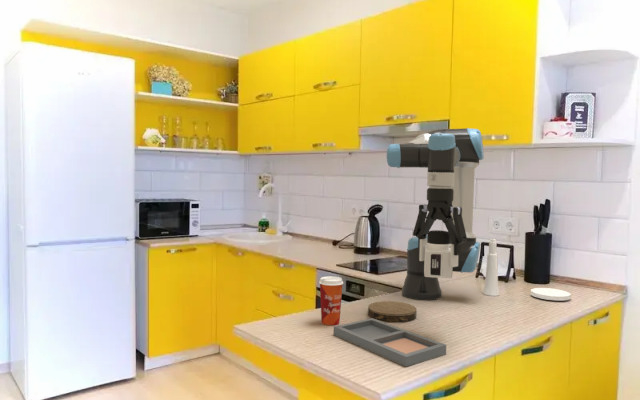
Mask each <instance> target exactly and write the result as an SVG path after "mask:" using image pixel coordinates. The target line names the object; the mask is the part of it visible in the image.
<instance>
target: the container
mask: <svg viewBox="0 0 640 400" xmlns="http://www.w3.org/2000/svg"><path fill="white" fill-rule="evenodd" d="M450 239H451V237H450V235H449V232H448V230H437V229H436V230H434V229H433V230H429V232H428V233H427V245H428V247H425V259H424V276H425V277H436V278H438V279H439V278H440V279H452V278H453V273H454V271H453V267H450V248H449V247H450Z"/></svg>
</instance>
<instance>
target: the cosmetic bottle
mask: <svg viewBox="0 0 640 400" xmlns="http://www.w3.org/2000/svg"><path fill="white" fill-rule="evenodd" d="M497 243H498V242H497V239H495V238H490V239H489V242H488V253H487V257H486V269H485V270H486V271H485V280H484V286H483V292H482V294H483V295H484V296H489V297H497V296H500V291H499V276H498V274H499V272H498V253H497Z"/></svg>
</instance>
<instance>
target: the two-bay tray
mask: <svg viewBox="0 0 640 400" xmlns="http://www.w3.org/2000/svg"><path fill="white" fill-rule="evenodd" d="M333 336H336V337H337V338H340V339H342V340H344V341H346V342H348V343H351V344H354V345H356V346H357V347H360V348H362V349H364V350H367V351H369V352H371V353H373V354H375V355H378V356H380V357H383V358H385V359H387V360H390V361H391V362H394V363H396V364H398V365H401V366H402V367H405V368H408V367H411V366H413V365H417V364H420V363H422V362H426V361H430V360H432V359H437V358H440V357H442V356H445V355H447V344H446V343H442V342H440V341H437V340H434V339H431V338H429V337H427V336H423V335H420V334H417V333H414V332H412V331H409V330H406V329H404V328H401V327H398V326H397V325H396V326H395V325H393V324H391V323H388V322H384V321H379V320H376V319H374V318H371V317H370V318H365V319H362V320H357V321H352V322H348V323H342V324H337V325H333Z"/></svg>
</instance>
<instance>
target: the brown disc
mask: <svg viewBox="0 0 640 400" xmlns="http://www.w3.org/2000/svg"><path fill="white" fill-rule="evenodd" d="M367 308H368V309H367V315H368V316H369V317H370V318H374V319H376V320H379V321H382V322H385V323H395V324H397V323H398V324H399V323H408V322H409V323H410V322H412V321H415V320H416V319H417V307H416V306H415V305H414V304H413V305H412V304H410V303H407V302H403V301H402V302H401V301H393V300H392V301H391V300H387V301H385V300H384V301H383V300H382V301H376V302H371V303H369V304H368V307H367Z"/></svg>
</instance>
